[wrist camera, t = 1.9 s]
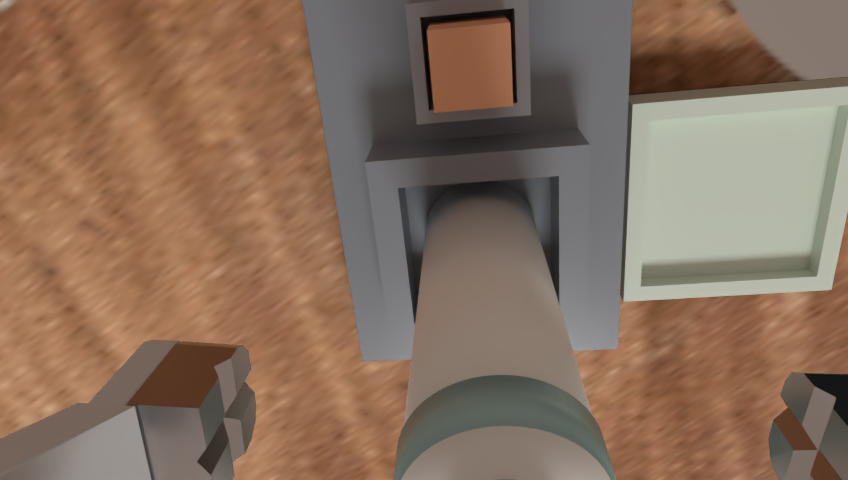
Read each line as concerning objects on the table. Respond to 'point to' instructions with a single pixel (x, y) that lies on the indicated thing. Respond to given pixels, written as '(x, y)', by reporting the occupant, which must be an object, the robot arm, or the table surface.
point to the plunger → (470, 63)
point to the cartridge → (493, 353)
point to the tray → (735, 190)
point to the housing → (475, 149)
